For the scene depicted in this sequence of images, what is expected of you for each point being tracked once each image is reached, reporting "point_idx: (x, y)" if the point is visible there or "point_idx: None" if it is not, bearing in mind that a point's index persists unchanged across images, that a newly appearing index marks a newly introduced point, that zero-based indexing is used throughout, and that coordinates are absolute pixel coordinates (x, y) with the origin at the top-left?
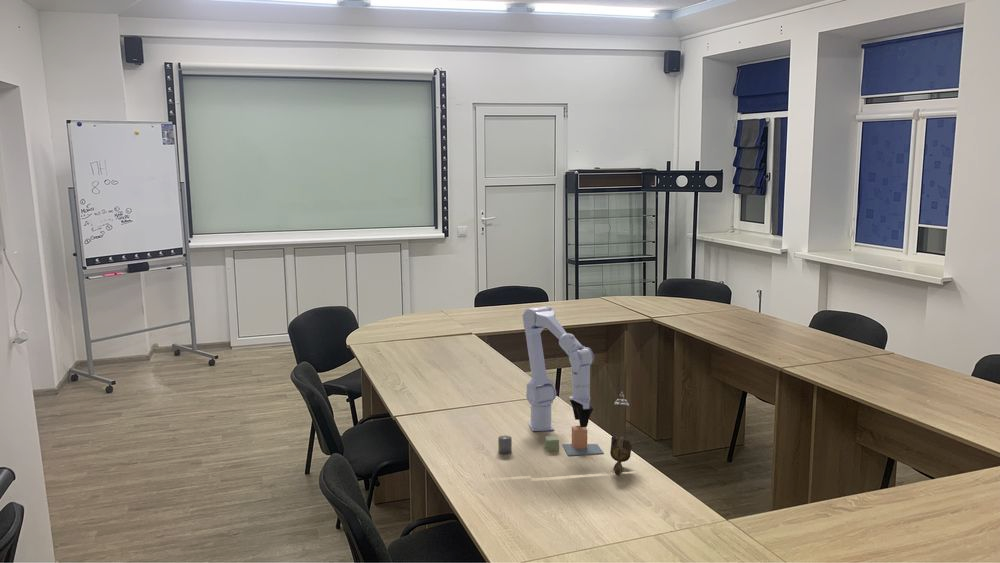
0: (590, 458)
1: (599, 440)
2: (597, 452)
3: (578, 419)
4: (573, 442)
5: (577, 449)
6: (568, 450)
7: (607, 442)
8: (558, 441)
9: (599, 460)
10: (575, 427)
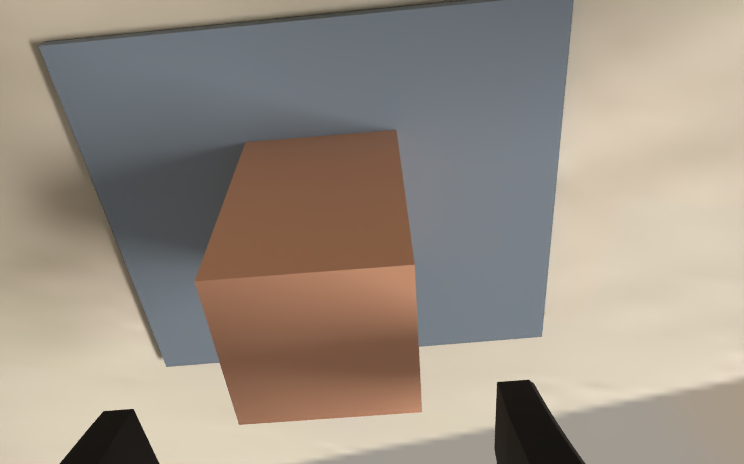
0: (36, 252)
1: (496, 368)
2: (168, 326)
3: (497, 419)
4: (292, 165)
5: (232, 171)
6: (192, 68)
7: (438, 410)
8: None
9: (5, 312)
10: (339, 307)
